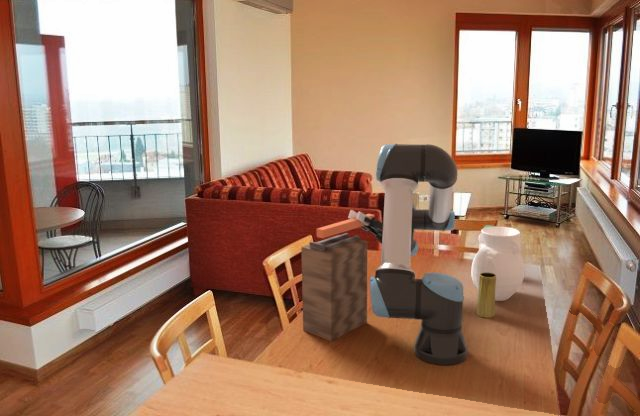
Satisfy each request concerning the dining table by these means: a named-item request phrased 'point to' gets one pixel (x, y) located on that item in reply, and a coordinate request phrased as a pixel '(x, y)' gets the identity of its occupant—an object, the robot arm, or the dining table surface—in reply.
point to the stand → (334, 286)
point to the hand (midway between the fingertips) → (354, 214)
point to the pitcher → (499, 260)
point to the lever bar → (340, 227)
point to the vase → (486, 295)
